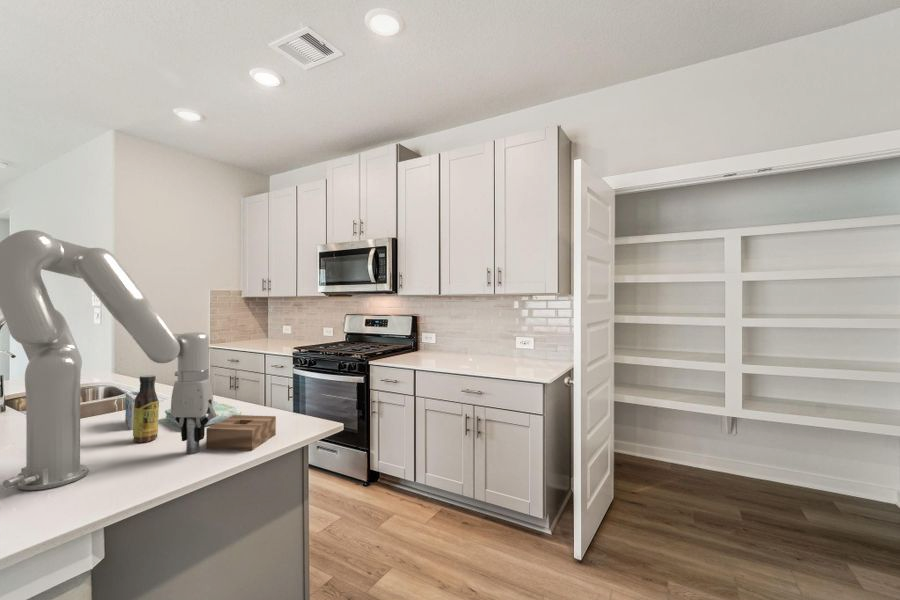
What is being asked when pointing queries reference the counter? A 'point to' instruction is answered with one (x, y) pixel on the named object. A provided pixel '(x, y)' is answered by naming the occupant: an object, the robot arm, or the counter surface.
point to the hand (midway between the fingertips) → (192, 439)
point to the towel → (220, 410)
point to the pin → (191, 436)
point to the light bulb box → (130, 408)
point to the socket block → (240, 432)
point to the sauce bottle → (146, 411)
